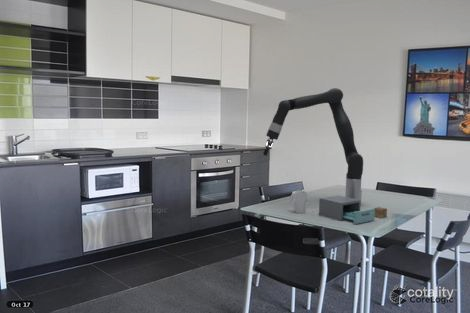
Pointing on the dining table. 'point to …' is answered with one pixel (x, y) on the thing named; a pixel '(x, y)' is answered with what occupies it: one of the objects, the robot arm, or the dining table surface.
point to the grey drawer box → (338, 206)
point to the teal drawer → (360, 215)
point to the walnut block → (380, 212)
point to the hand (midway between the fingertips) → (264, 154)
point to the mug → (299, 201)
